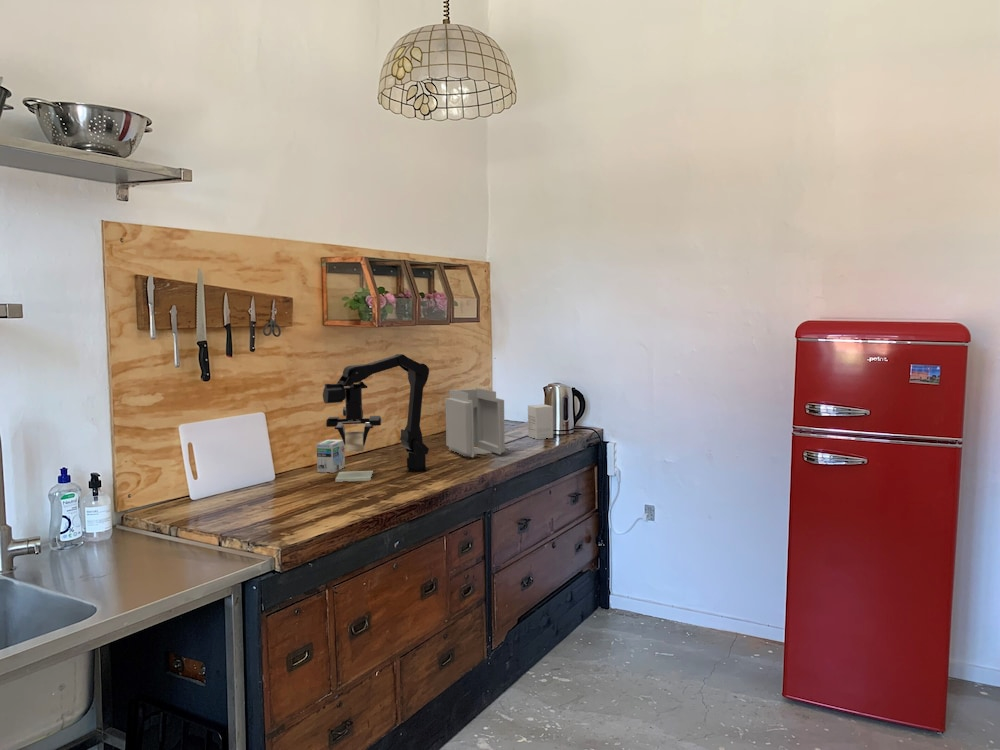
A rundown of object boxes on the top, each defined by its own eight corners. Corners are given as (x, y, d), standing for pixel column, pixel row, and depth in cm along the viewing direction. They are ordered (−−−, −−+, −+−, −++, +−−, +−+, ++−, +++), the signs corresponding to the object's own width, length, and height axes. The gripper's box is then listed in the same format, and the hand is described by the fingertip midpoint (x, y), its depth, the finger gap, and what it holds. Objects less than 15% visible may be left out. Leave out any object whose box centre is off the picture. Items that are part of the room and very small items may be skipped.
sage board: (373, 473, 267) (372, 470, 267) (370, 480, 255) (370, 477, 255) (339, 474, 266) (339, 471, 266) (335, 481, 254) (335, 479, 254)
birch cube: (364, 448, 263) (363, 431, 262) (362, 451, 257) (362, 434, 256) (347, 448, 262) (346, 432, 262) (345, 451, 256) (345, 434, 256)
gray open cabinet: (478, 446, 320) (478, 386, 318) (506, 456, 297) (505, 392, 295) (442, 449, 313) (440, 389, 311) (467, 460, 289) (466, 394, 287)
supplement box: (544, 435, 347) (544, 404, 346) (553, 438, 339) (553, 406, 337) (527, 437, 343) (527, 405, 342) (536, 439, 335) (535, 407, 334)
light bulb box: (333, 473, 269) (332, 444, 268) (316, 472, 270) (315, 443, 269) (345, 467, 279) (344, 439, 278) (329, 466, 281) (328, 438, 280)
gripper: (381, 398, 267) (382, 441, 268) (329, 399, 265) (330, 442, 266) (380, 402, 256) (381, 446, 257) (325, 403, 254) (326, 447, 255)
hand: (354, 445), depth 259 cm, fingers closed on birch cube, 6 cm apart
